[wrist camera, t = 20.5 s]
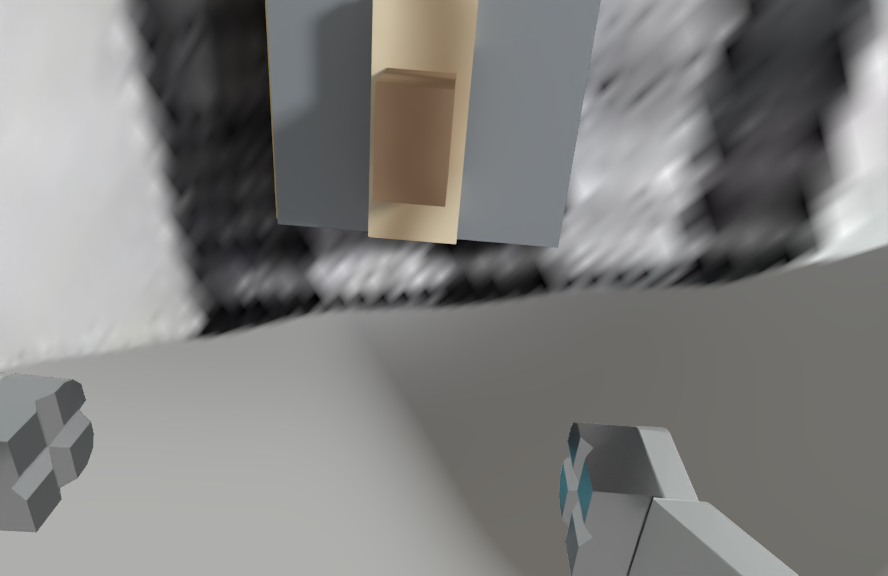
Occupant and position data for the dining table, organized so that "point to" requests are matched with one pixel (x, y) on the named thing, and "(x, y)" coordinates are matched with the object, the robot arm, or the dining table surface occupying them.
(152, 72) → the dining table surface
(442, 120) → the brown box
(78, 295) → the dining table surface
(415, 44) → the tan stepped block
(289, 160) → the dock
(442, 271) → the dining table surface
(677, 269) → the dining table surface
